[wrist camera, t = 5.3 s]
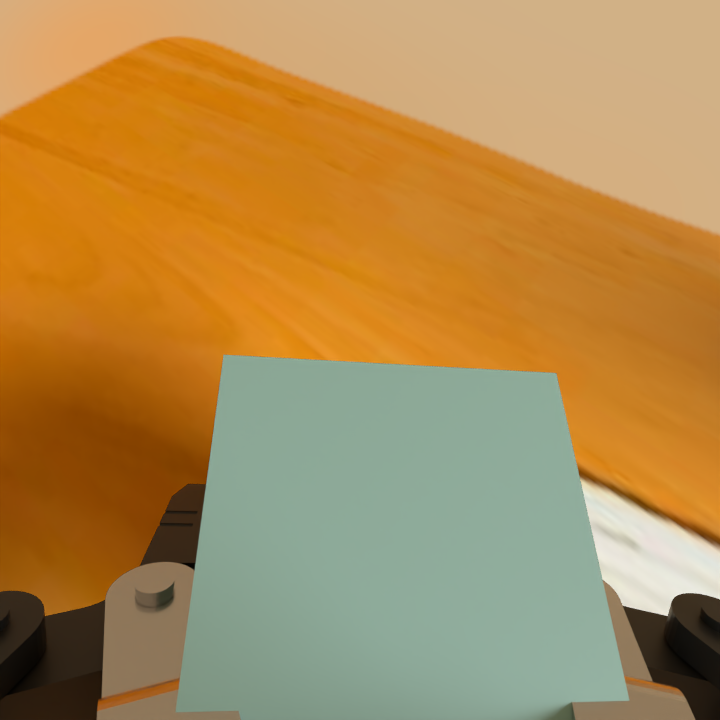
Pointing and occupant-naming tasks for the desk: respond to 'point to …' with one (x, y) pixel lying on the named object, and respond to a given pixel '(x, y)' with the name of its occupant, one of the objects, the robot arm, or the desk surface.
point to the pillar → (394, 549)
